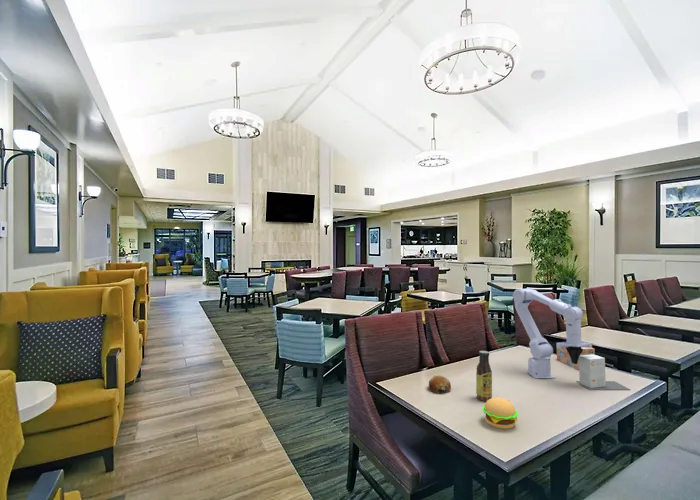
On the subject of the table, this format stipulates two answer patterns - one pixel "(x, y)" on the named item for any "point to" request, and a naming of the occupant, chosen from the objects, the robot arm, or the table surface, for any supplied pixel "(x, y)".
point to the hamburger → (500, 413)
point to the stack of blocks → (565, 357)
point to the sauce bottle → (484, 377)
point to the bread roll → (439, 384)
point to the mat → (608, 386)
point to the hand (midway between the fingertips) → (574, 363)
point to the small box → (592, 371)
